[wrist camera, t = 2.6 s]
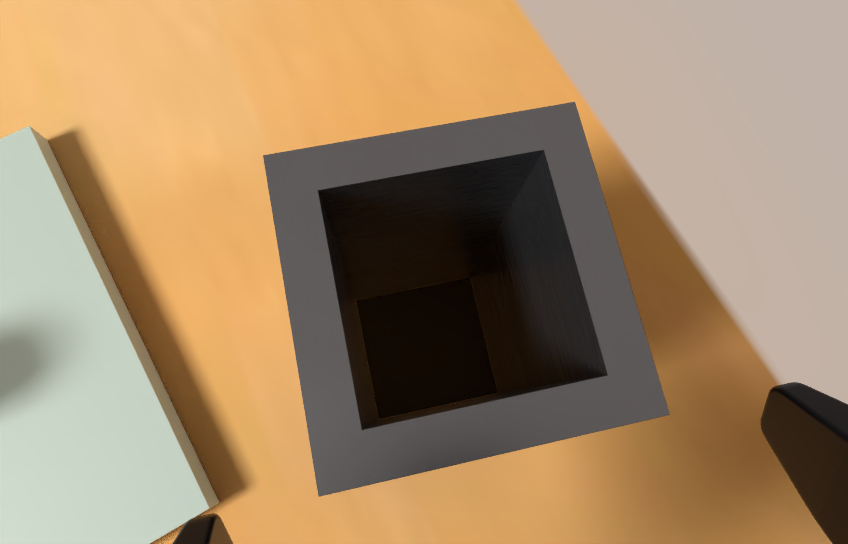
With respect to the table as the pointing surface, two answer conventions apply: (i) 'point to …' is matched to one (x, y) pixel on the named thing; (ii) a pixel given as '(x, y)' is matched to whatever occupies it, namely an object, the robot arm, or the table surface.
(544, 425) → the square open box
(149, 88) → the table surface
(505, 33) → the table surface
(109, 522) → the pin board
